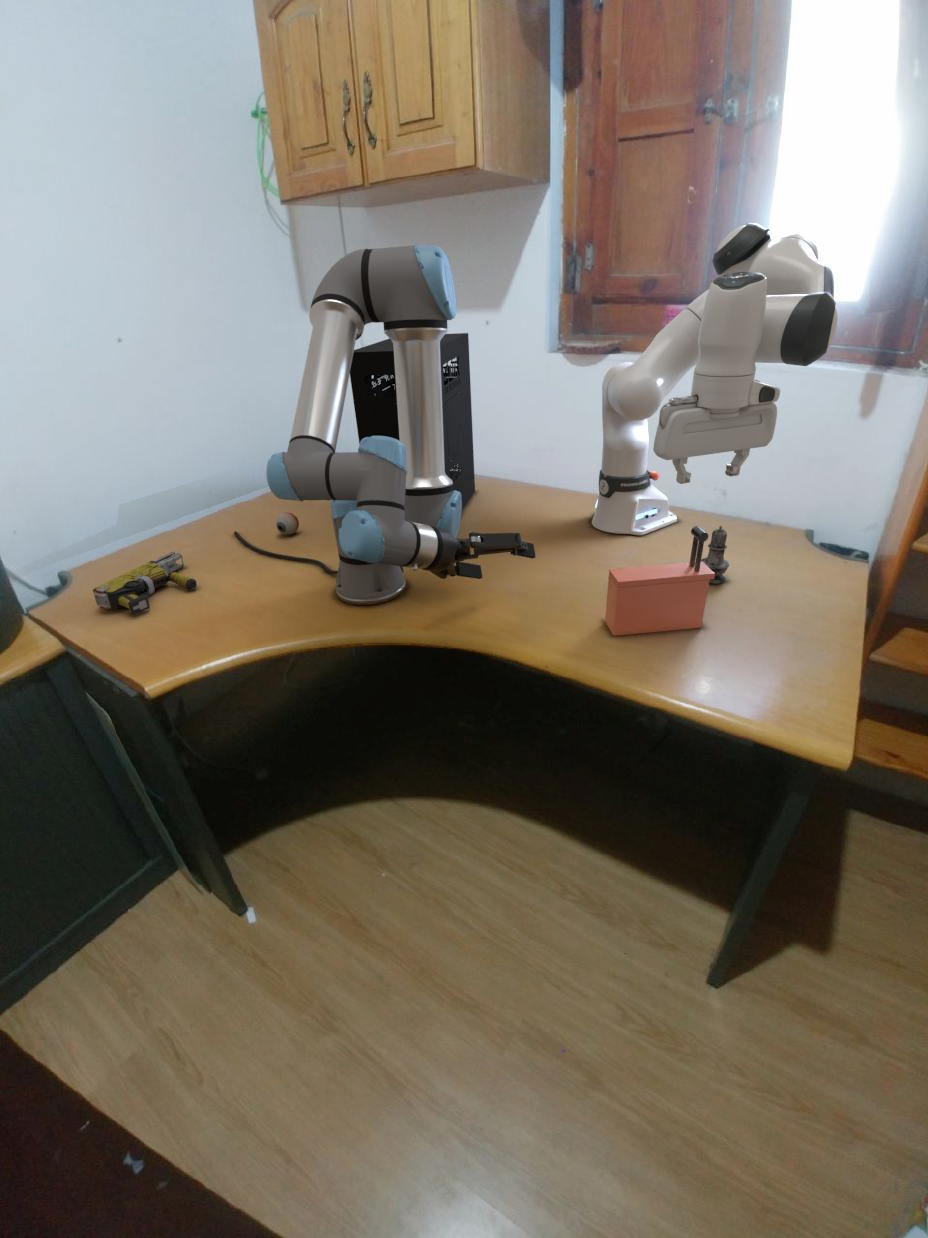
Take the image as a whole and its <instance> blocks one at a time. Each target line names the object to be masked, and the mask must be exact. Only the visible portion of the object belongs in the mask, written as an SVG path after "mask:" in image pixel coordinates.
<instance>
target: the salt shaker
mask: <svg viewBox="0 0 928 1238" xmlns="http://www.w3.org/2000/svg"><path fill="white" fill-rule="evenodd" d="M727 537H728V532H727V531H726V530H725V529H723V526H722V525H720V526H718V528H717V529H714V530H713V531H712V532H711V539H710V543H709V544H708V554H707V556H706V557H703V558H701V561H702V562H703V563H705V564H706V565H707V566H708V567H709V568H710V569H711V570H712V571H713V572H714V573H715V577H714V579H709V584H714V585H715V584H721V583H724V582H726V577H725V576H724V575H723V574H725V573H726V571H727V570H728V568H729V567H730V563H729V561H728V560H727V559H725V550H727V548H728V546H727V545H726V543H727Z"/></svg>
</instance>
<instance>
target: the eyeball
mask: <svg viewBox="0 0 928 1238" xmlns="http://www.w3.org/2000/svg"><path fill="white" fill-rule="evenodd" d="M299 525H300V522H299V519H298V517H297V516H296V515H295V514H294V513H292V512H287V511H286V512H282V513H280V514H279V515H278V516H277V517H276V520H275V527H276V529H277V530H278V531H279V532H280V533H281V534H282V535H285V536H286V535H287V536H289V535H293V534H295V533H296V532H297V531H298V529H299Z"/></svg>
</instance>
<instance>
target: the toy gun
mask: <svg viewBox="0 0 928 1238" xmlns="http://www.w3.org/2000/svg"><path fill="white" fill-rule="evenodd" d="M180 559H181V563H178V562H177V561H179V560H180ZM184 563H185V562H184V559H183V555H182V553H181V552H176V551H171V552H169V553H167V554H164V555H163V556H161V557H158V558H156V559H155V560H149V561H148V562H146V563H143V564H142V565H140V566H138V567H135V568H134V569H131V570H129V571H127V572H125V573H122V574H121V575H119V576H117V577H115V578H112V579H111V580H108V581H106V582H104V583H102V584H100V585H98V586H95V587H94V588H93V589H92V593H93V595H94V601H95V603H96V606H98V607H99V608H100V610H102V609H103V610H104V611H106V610H116V609H120V608H127V609H128V610H129V611H130V615H131V616H136V615H138V614H140V613H142V612H145V611H147V610H150V609H151V607H150V603H149V598H148V597H149V596H151V595H152V594H154V593H155V590H156V589H157V588H160V587H163V586H164V585H167V584H168V583H169V582H171V583H174V584H176V585H178V586H181V587H182V588H186V589H187V590H189V591H192V590H194V589H196V588H197V587H198V585H197V582H198V581H197V580H195V579H194V578H190V577H188V576H186V575H183V574H180V573H178V572H177V570H179V569H181V568H184V566H185V564H184Z"/></svg>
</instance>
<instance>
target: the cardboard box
mask: <svg viewBox="0 0 928 1238" xmlns="http://www.w3.org/2000/svg"><path fill="white" fill-rule="evenodd" d="M469 341H470V340H469V332H462V333H461V332H460V333H459V332H458V333H457V332H455V333H446V334H445V335H444V336H443V337H442V339H441V341H440V362H441V387H442V413H443V439H444V465H445V474H446V475H447V476H448V477H449V478H450V479H451V480H452V481H453V491H454V490H456V491H458V492H460V493H461V496H462V499H461V500H462V511H461V513H462V512H463V510H464V509H465V507H466V506H467V504H468V503H469V501H470V500H471V499H472V497H473V495H474V494H475V492H476V482H475V480H476V477H475V459H474V457H475V455H474V432H473V412H472V410H473V409H472V388H471V387H472V386H471V367H470V366H471V365H470V364H471V363H470V344H469V343H470V342H469ZM449 363H450V364H449ZM349 379H350V384H351V394H352V401H353V407H354V414H355V415H354V416H355V421H356V429H357V437H358V444H359V445H360V441H361V440H362V439H363V438H366V437H371V436H386V437H391V438H394V439H397V440H399V441H400V439H399V424H398V409H397V393H396V378H395V363H394V348H393V342H392V340H391V339H390V338H387V339H384V340H380V341H377V342H374V343H371V344H368V345H365V346H362V347H358V348H356V349H354V353H353V358H352V363H351V369H350V374H349ZM359 445H358V446H359Z"/></svg>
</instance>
